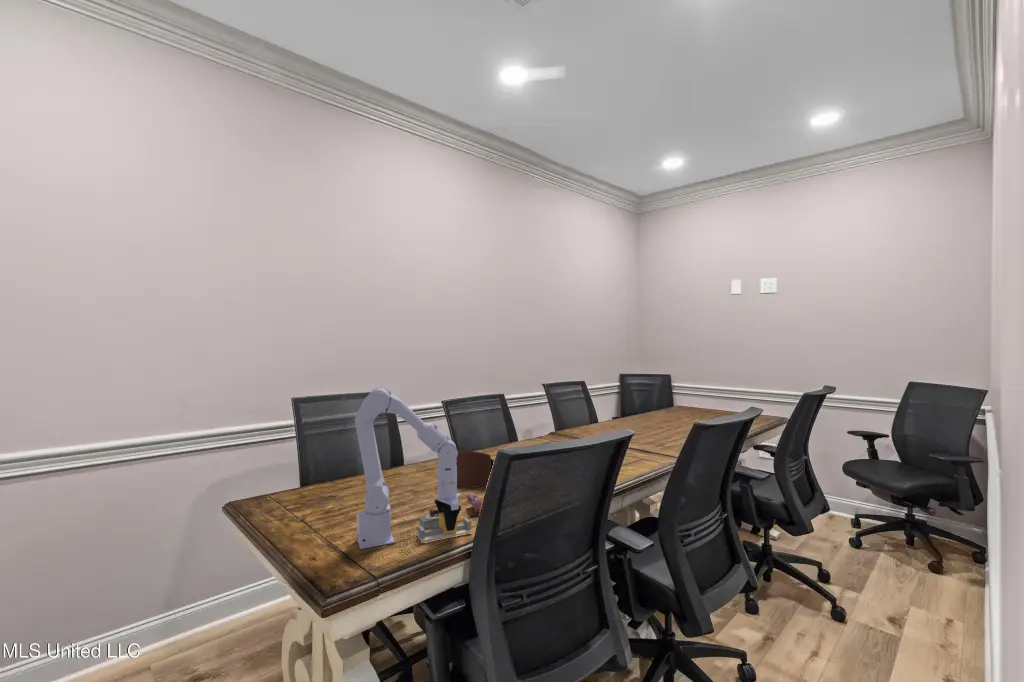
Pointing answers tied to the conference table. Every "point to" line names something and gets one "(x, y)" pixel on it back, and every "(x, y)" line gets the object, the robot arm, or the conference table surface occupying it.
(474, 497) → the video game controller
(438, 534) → the rail
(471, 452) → the letter holder
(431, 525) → the lever base
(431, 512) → the dark lever handle
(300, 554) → the conference table surface
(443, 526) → the carriage
